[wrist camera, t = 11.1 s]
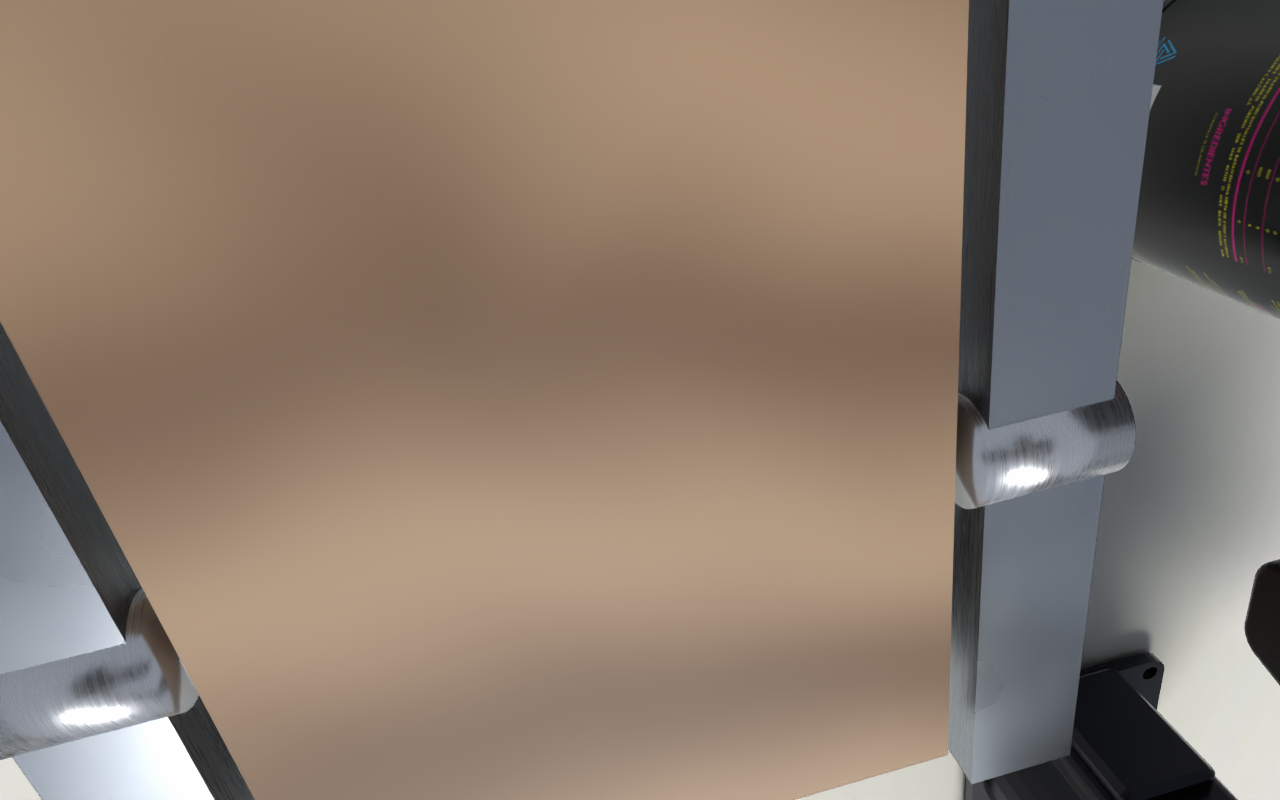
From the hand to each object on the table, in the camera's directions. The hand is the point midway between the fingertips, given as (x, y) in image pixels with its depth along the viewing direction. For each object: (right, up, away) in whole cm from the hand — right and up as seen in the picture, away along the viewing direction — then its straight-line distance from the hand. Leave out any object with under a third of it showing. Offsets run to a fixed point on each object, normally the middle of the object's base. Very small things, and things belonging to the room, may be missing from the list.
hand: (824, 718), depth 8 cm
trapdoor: (-4, +6, +8) cm, 10 cm away
